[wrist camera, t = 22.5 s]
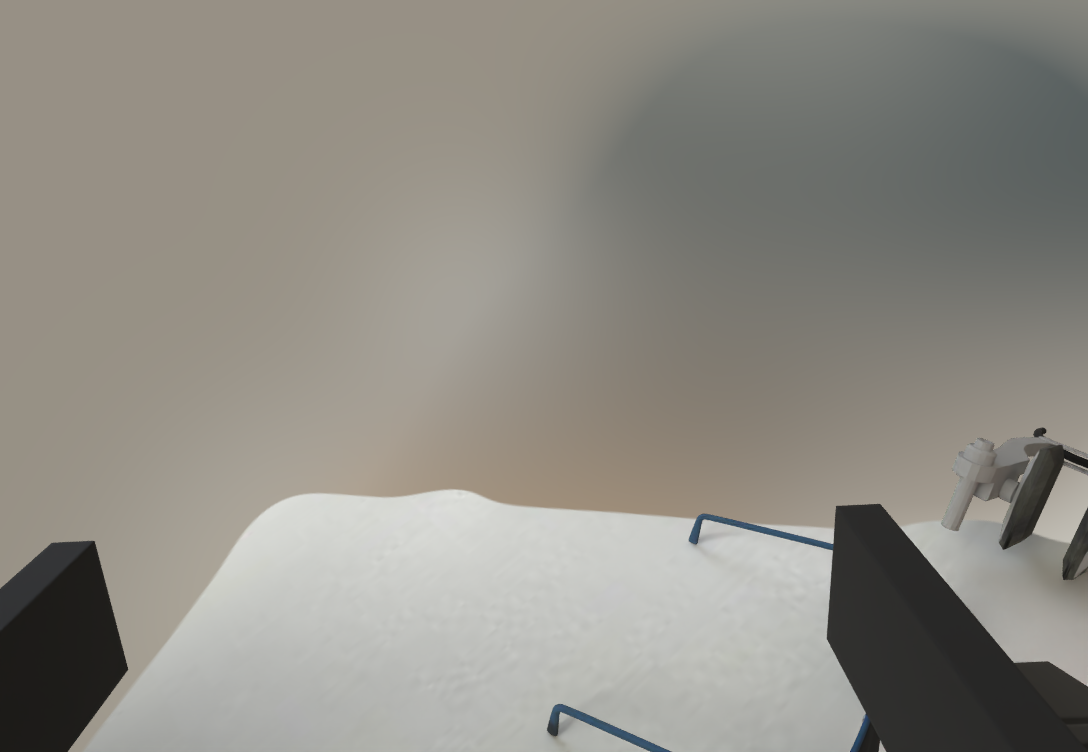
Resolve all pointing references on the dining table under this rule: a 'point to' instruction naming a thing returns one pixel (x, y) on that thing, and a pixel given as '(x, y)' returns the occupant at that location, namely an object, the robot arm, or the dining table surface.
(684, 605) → the dining table surface
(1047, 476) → the wheel axle
